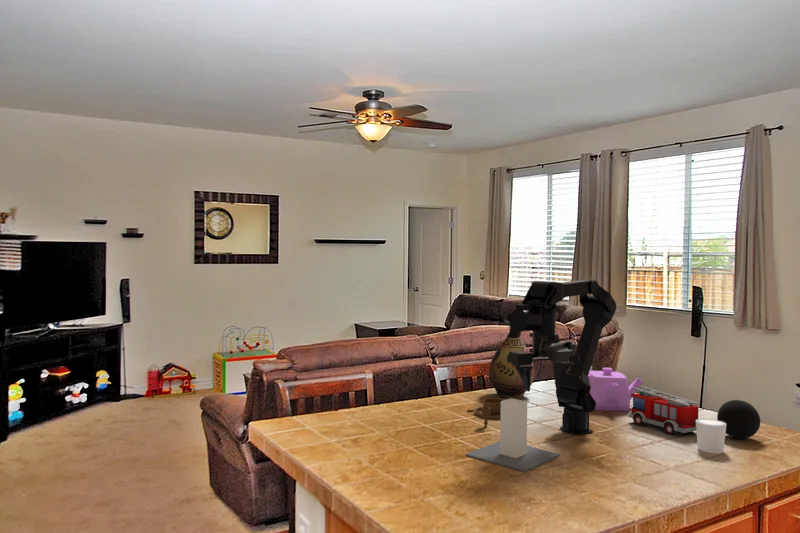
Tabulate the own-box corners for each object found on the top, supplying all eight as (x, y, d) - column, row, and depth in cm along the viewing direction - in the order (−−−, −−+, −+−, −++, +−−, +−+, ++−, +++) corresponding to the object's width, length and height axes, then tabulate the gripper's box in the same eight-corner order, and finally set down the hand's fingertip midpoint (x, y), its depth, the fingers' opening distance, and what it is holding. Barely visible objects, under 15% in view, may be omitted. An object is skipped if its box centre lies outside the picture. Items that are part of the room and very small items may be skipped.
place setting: (531, 419, 178) (531, 399, 178) (488, 431, 165) (488, 410, 165) (485, 408, 191) (485, 389, 191) (441, 418, 178) (442, 398, 178)
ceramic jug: (524, 403, 197) (526, 311, 196) (481, 396, 205) (482, 309, 205) (542, 393, 211) (543, 308, 211) (500, 388, 219) (502, 306, 219)
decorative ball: (717, 430, 167) (718, 394, 167) (759, 436, 162) (760, 399, 162) (716, 439, 158) (716, 401, 158) (760, 445, 153) (761, 406, 153)
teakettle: (599, 398, 206) (599, 362, 206) (645, 407, 193) (646, 369, 193) (568, 404, 196) (569, 366, 196) (615, 415, 182) (616, 375, 182)
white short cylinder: (723, 447, 151) (723, 419, 151) (728, 455, 145) (729, 426, 145) (693, 444, 153) (693, 417, 153) (697, 452, 147) (697, 423, 147)
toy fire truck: (646, 418, 179) (647, 385, 179) (704, 435, 162) (704, 398, 162) (625, 422, 175) (625, 388, 175) (682, 439, 158) (682, 401, 158)
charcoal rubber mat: (503, 441, 154) (503, 439, 154) (560, 455, 143) (560, 453, 143) (465, 455, 142) (465, 453, 142) (525, 472, 131) (525, 470, 131)
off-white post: (510, 449, 146) (511, 398, 146) (526, 453, 143) (527, 401, 143) (499, 453, 142) (500, 401, 142) (516, 458, 139) (517, 404, 139)
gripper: (531, 334, 144) (530, 399, 144) (594, 332, 151) (593, 394, 151) (506, 329, 154) (505, 390, 154) (566, 327, 161) (565, 385, 162)
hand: (543, 390), depth 155 cm, fingers open, 9 cm apart
